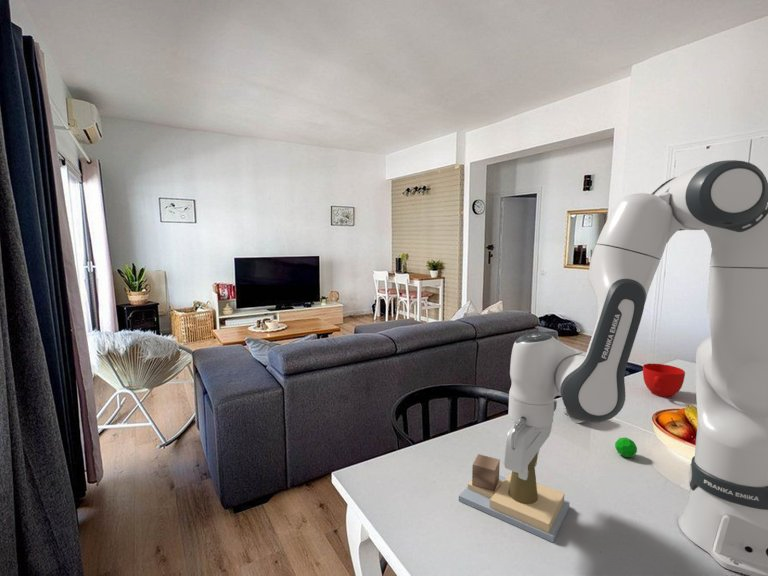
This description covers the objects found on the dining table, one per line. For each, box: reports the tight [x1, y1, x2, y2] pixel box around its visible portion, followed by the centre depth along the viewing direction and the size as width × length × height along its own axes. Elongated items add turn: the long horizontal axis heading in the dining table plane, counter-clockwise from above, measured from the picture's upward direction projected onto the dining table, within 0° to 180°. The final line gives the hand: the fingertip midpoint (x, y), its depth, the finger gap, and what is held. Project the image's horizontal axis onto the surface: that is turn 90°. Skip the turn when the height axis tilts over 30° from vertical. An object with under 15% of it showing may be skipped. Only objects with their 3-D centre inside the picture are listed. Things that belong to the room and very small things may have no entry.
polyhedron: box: [614, 437, 638, 458], centre depth 105 cm, size 5×5×5 cm
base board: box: [458, 473, 570, 543], centre depth 86 cm, size 20×13×3 cm, turn 52°
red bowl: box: [642, 363, 686, 398], centre depth 146 cm, size 13×17×10 cm
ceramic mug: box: [562, 407, 587, 424], centre depth 128 cm, size 11×8×8 cm
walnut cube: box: [471, 453, 501, 492], centre depth 89 cm, size 5×5×5 cm
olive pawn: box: [508, 453, 539, 504], centre depth 83 cm, size 6×6×11 cm
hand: (527, 471), depth 83 cm, fingers closed on olive pawn, 4 cm apart
